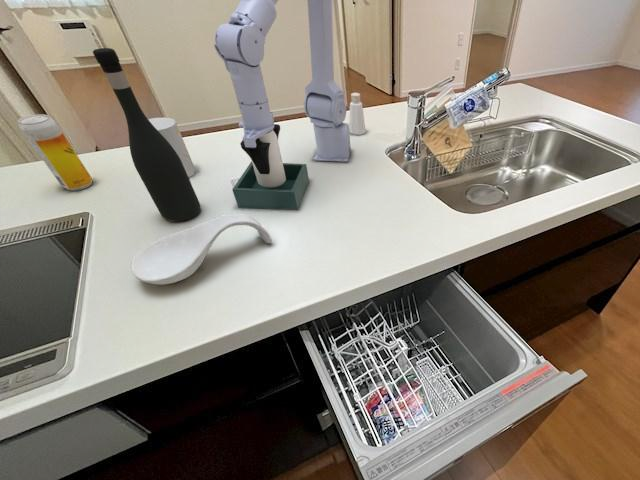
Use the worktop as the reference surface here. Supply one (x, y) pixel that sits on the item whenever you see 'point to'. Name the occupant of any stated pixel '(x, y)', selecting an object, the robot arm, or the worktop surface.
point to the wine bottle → (151, 149)
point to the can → (272, 163)
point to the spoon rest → (185, 249)
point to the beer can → (55, 151)
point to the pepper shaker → (356, 116)
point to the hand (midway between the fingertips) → (269, 166)
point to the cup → (174, 141)
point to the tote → (272, 189)
